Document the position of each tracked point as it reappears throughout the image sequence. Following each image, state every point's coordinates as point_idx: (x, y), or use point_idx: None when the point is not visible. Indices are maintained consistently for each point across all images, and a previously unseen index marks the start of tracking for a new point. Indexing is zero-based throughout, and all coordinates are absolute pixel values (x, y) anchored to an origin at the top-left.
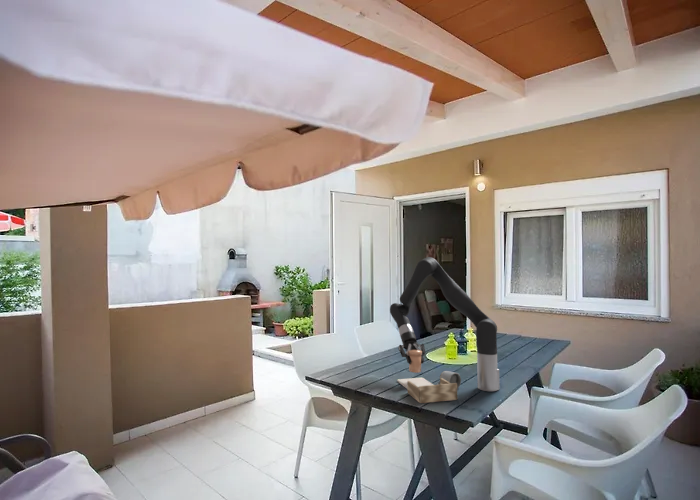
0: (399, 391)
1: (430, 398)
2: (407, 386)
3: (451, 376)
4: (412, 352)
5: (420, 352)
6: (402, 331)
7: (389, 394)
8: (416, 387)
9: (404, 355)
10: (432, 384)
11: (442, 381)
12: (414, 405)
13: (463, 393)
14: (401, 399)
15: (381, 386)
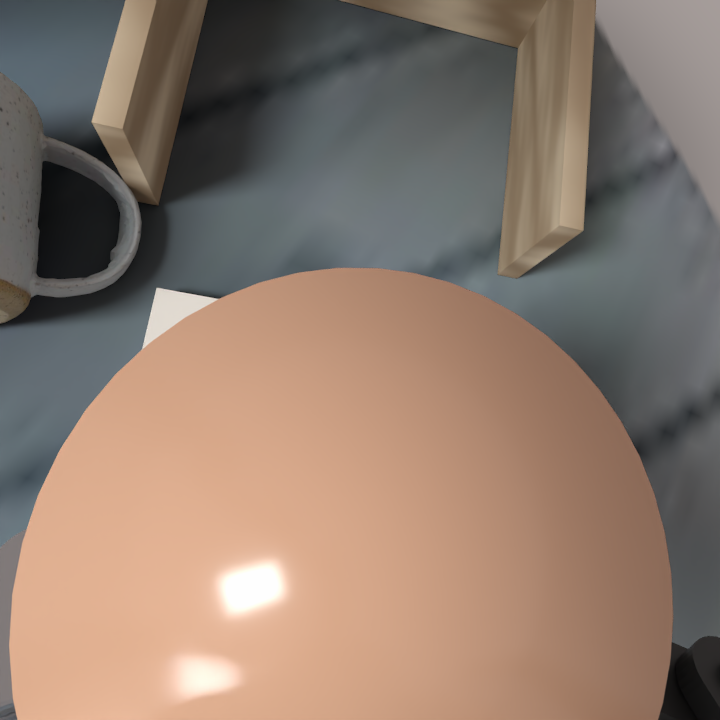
0: (566, 346)
1: None
2: (549, 254)
3: None
4: (597, 399)
5: (279, 284)
6: None
7: (679, 313)
8: (591, 14)
9: (677, 653)
10: (154, 330)
11: (143, 91)
12: (596, 26)
13: (9, 23)
14: (633, 168)
15: (670, 561)
